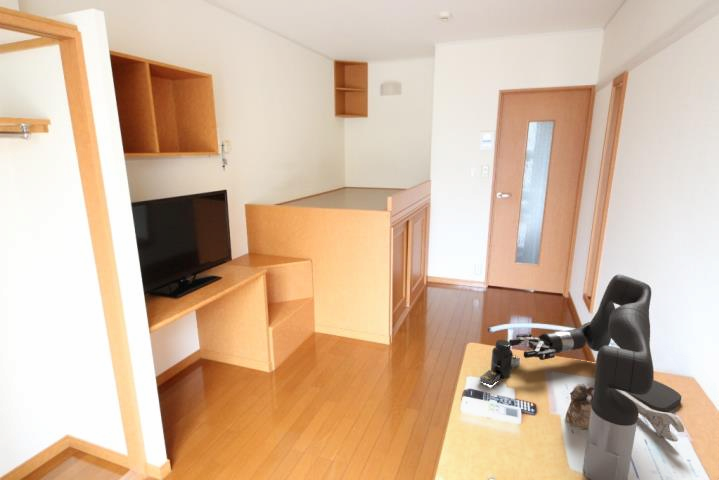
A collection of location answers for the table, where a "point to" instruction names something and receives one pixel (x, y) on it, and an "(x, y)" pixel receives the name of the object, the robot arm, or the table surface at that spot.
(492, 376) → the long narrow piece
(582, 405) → the figurine
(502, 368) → the supplement bottle
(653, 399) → the media streaming box
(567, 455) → the table surface
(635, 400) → the wrench
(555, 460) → the table surface
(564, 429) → the table surface
